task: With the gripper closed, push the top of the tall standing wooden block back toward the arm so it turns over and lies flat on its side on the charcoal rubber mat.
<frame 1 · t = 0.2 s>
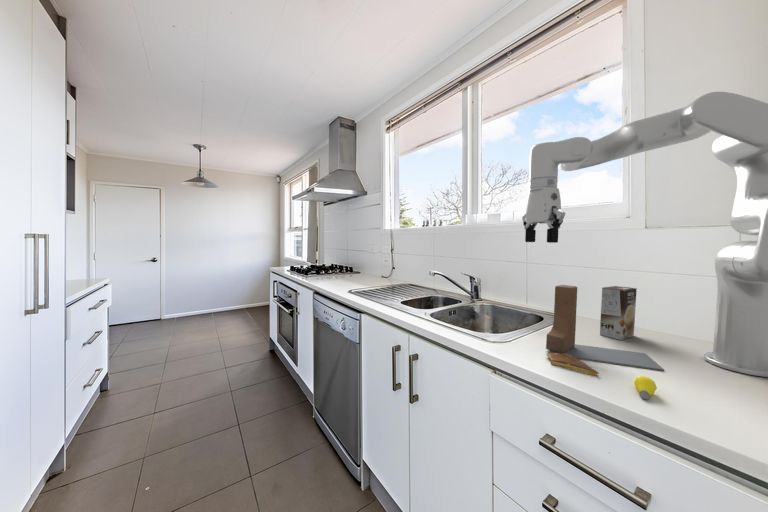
hand: (540, 242, 88), 31 cm above the worktop, tool pointing down, fingers open, 9 cm apart
mat: (598, 354, 80), on the worktop
coffee box: (616, 336, 95), on the worktop
light bulb: (644, 395, 59), on the worktop
wooden block: (560, 348, 83), resting on mat
sandwich: (572, 366, 74), on the worktop
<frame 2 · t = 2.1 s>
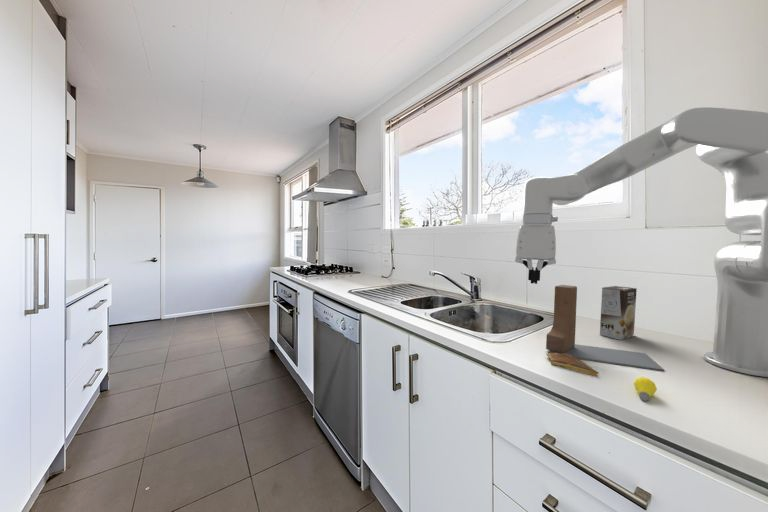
hand: (533, 282, 85), 19 cm above the worktop, tool pointing down, fingers closed
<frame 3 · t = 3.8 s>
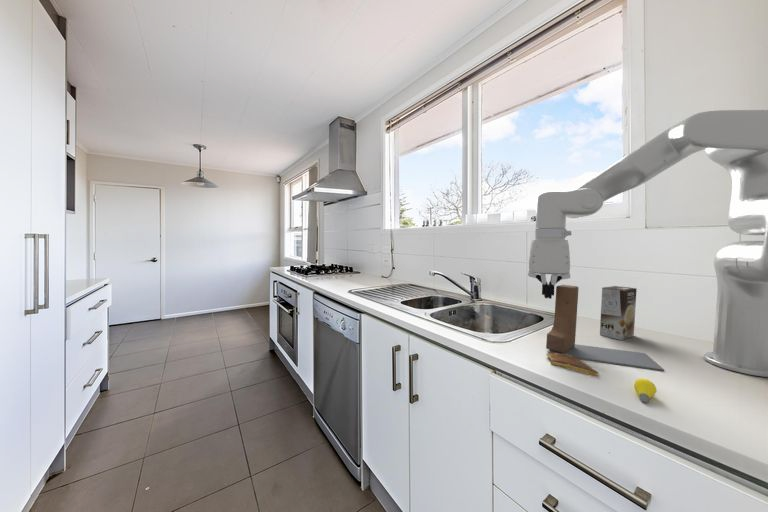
hand: (547, 297, 84), 15 cm above the worktop, tool pointing down, fingers closed
wooden block: (560, 348, 83), resting on mat, touching gripper
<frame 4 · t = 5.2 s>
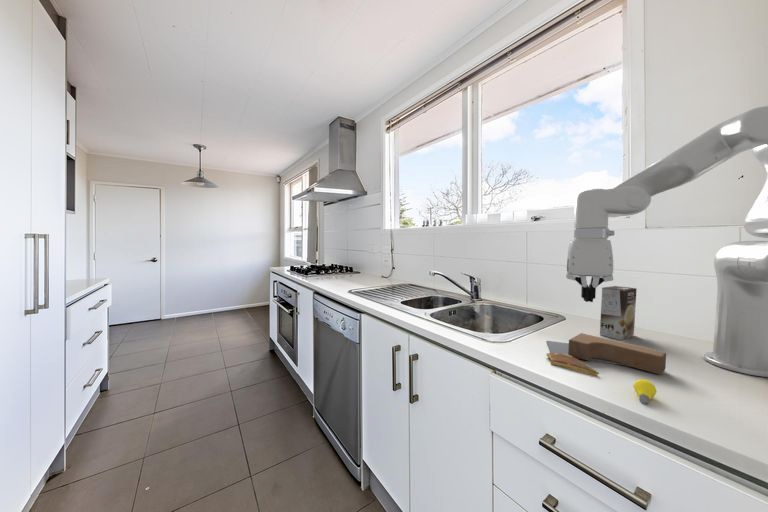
hand: (588, 300, 80), 15 cm above the worktop, tool pointing down, fingers closed
wooden block: (573, 343, 81), point 3 cm above the worktop, touching mat
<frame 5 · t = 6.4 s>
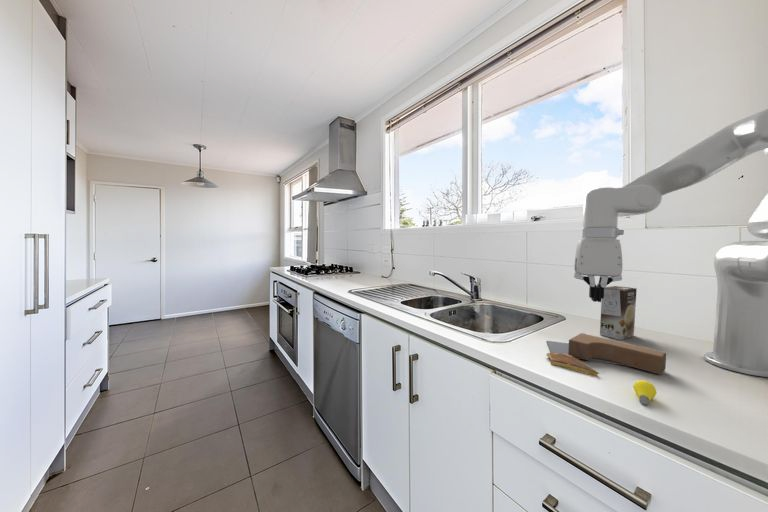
hand: (596, 300, 79), 15 cm above the worktop, tool pointing down, fingers closed
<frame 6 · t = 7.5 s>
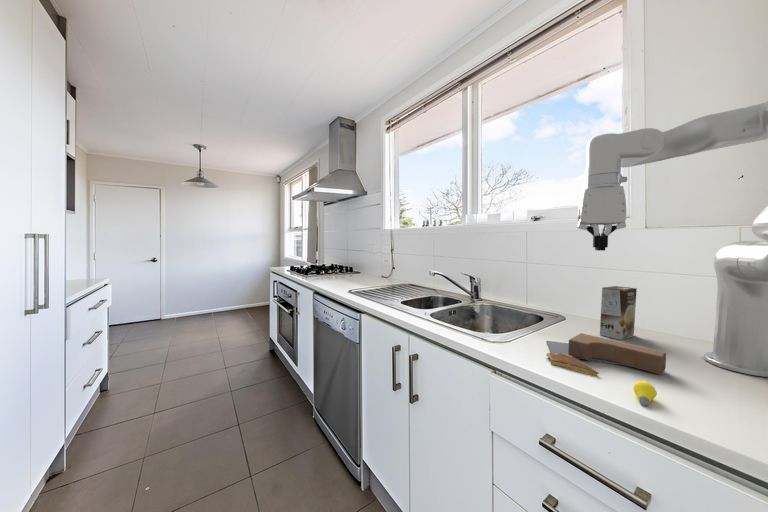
hand: (600, 250, 79), 29 cm above the worktop, tool pointing down, fingers closed
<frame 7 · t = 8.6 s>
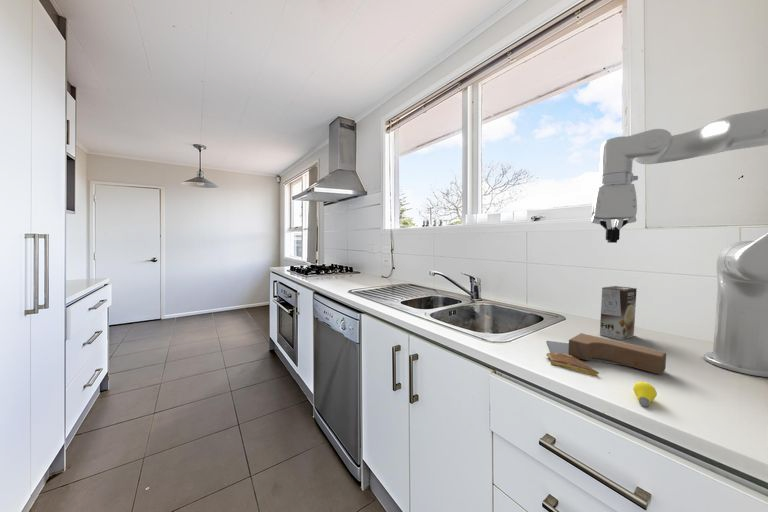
hand: (612, 242, 86), 31 cm above the worktop, tool pointing down, fingers closed
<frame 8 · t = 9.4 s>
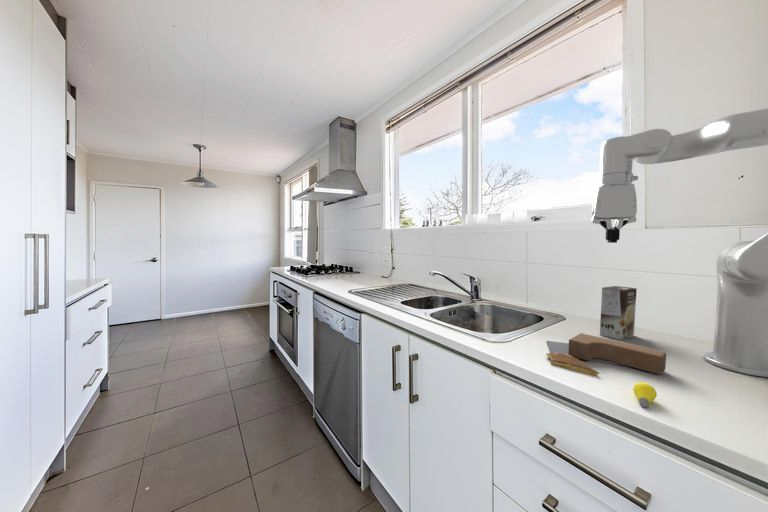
hand: (612, 242, 87), 31 cm above the worktop, tool pointing down, fingers closed
at the end: wooden block tilted 90°; wooden block touching mat; wooden block inside the target area (1.7 cm from its centre), point 2.7 cm above the worktop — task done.
